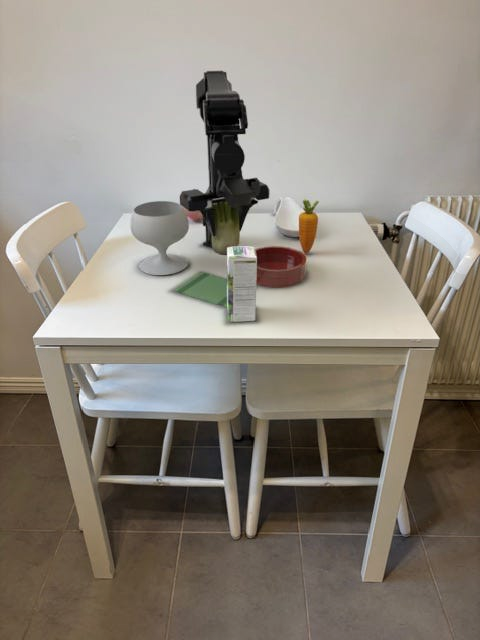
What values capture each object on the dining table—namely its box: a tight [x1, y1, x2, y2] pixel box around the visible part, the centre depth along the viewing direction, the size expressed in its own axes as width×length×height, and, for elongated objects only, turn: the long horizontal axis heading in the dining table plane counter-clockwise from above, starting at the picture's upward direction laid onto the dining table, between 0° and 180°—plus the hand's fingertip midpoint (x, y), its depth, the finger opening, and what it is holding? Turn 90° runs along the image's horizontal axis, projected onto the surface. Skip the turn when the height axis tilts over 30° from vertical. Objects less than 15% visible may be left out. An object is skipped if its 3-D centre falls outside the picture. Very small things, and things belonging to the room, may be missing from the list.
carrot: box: [298, 198, 320, 255], centre depth 124 cm, size 5×5×15 cm
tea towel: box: [172, 271, 227, 308], centre depth 112 cm, size 15×11×1 cm
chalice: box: [130, 200, 190, 276], centre depth 119 cm, size 14×14×15 cm
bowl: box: [255, 245, 307, 288], centre depth 117 cm, size 15×15×4 cm
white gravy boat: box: [273, 196, 305, 238], centre depth 144 cm, size 24×12×7 cm, turn 10°
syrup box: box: [226, 245, 257, 323], centre depth 98 cm, size 6×6×14 cm
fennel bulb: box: [211, 202, 241, 256], centre depth 106 cm, size 6×5×12 cm
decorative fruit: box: [181, 188, 202, 221], centre depth 148 cm, size 9×8×10 cm
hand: (226, 233), depth 106 cm, fingers closed on fennel bulb, 6 cm apart
